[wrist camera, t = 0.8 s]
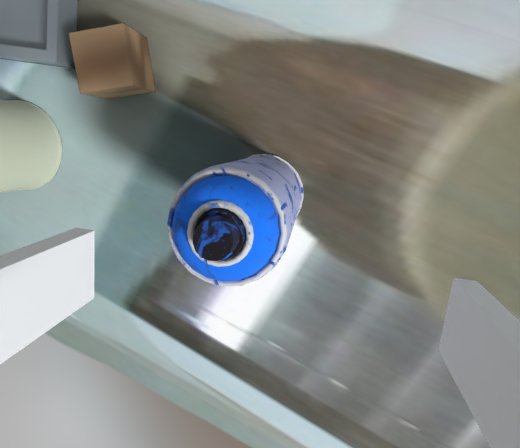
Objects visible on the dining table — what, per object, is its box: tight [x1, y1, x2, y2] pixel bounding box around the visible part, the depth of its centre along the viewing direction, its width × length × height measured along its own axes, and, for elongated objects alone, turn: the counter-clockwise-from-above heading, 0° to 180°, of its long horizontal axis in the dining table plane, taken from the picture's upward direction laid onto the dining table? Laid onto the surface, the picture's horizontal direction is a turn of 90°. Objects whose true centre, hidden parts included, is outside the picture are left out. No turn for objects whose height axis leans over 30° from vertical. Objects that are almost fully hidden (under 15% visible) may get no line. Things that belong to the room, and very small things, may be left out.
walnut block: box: [69, 23, 155, 99], centre depth 38 cm, size 5×5×5 cm
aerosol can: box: [167, 154, 304, 286], centre depth 31 cm, size 8×8×20 cm
